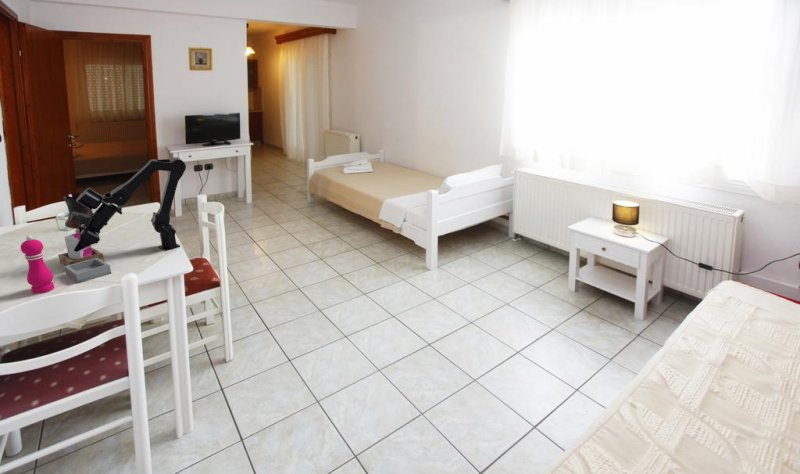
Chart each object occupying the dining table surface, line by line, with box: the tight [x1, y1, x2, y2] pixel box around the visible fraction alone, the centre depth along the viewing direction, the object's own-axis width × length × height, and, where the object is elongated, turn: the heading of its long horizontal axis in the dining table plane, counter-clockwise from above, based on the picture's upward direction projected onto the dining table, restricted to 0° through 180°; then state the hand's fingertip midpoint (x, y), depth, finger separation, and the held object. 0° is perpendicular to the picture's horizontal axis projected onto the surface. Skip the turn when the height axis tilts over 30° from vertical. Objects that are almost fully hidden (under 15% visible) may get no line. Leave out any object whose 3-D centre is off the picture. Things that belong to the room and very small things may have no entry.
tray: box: [63, 258, 112, 284], centre depth 172 cm, size 11×11×4 cm
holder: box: [57, 246, 105, 267], centre depth 182 cm, size 11×11×4 cm
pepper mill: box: [20, 235, 55, 295], centre depth 156 cm, size 7×7×20 cm
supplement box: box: [64, 232, 93, 260], centre depth 180 cm, size 6×6×12 cm
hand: (74, 247), depth 179 cm, fingers open, 8 cm apart
